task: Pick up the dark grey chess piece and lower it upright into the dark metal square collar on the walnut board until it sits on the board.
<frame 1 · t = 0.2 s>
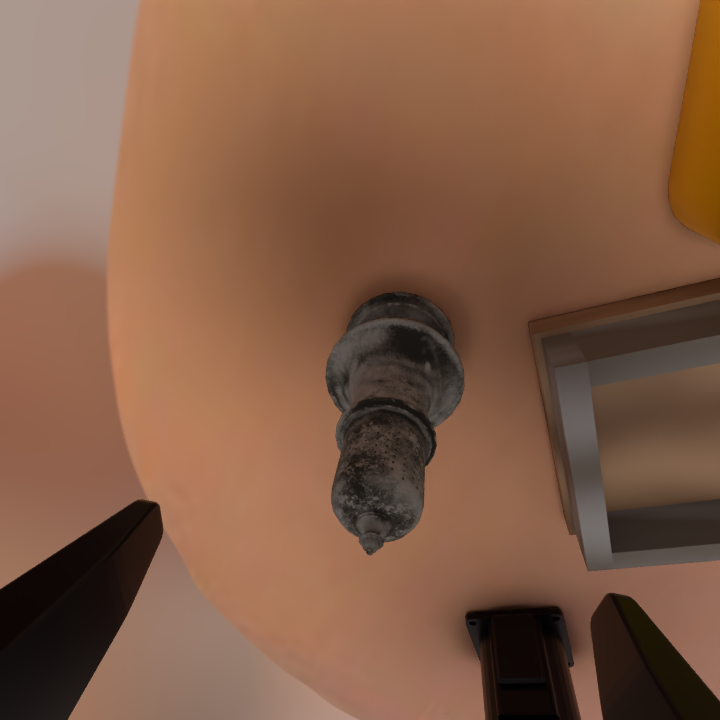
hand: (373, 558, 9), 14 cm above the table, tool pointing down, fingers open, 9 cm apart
socket: (690, 408, 22), on the table
dark grey chess piece: (399, 340, 23), on the table
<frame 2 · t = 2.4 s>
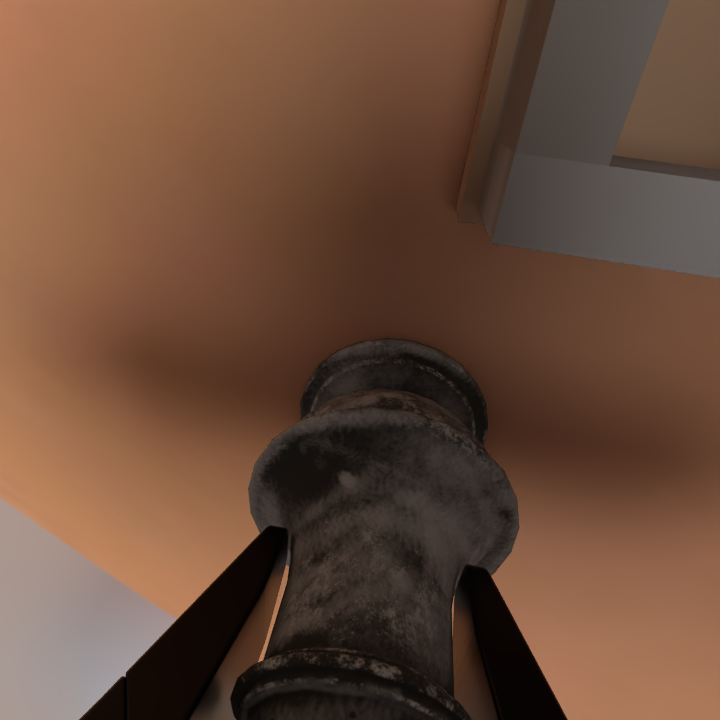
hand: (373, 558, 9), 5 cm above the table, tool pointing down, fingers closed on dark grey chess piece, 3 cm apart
dark grey chess piece: (392, 417, 13), on the table, touching gripper
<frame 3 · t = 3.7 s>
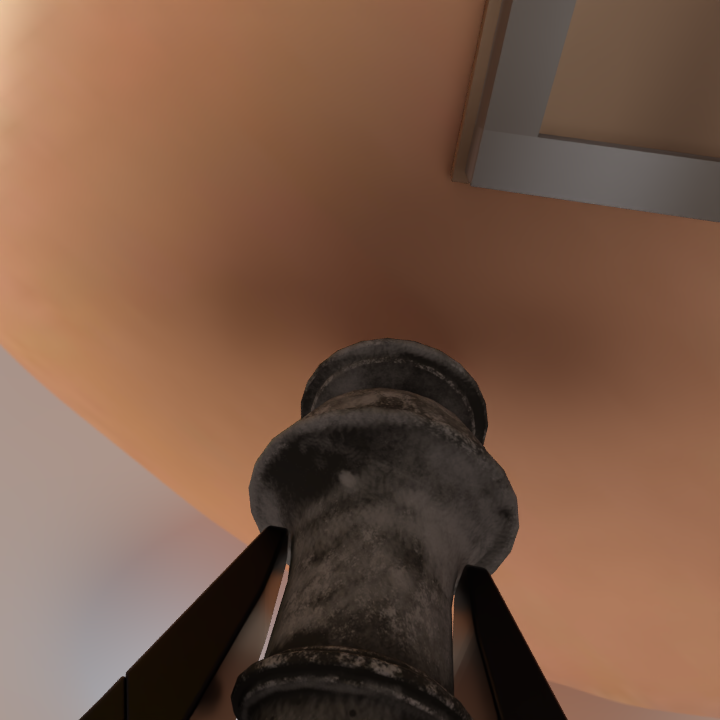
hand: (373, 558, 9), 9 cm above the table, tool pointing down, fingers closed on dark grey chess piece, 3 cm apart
dark grey chess piece: (392, 416, 13), point 5 cm above the table, touching gripper
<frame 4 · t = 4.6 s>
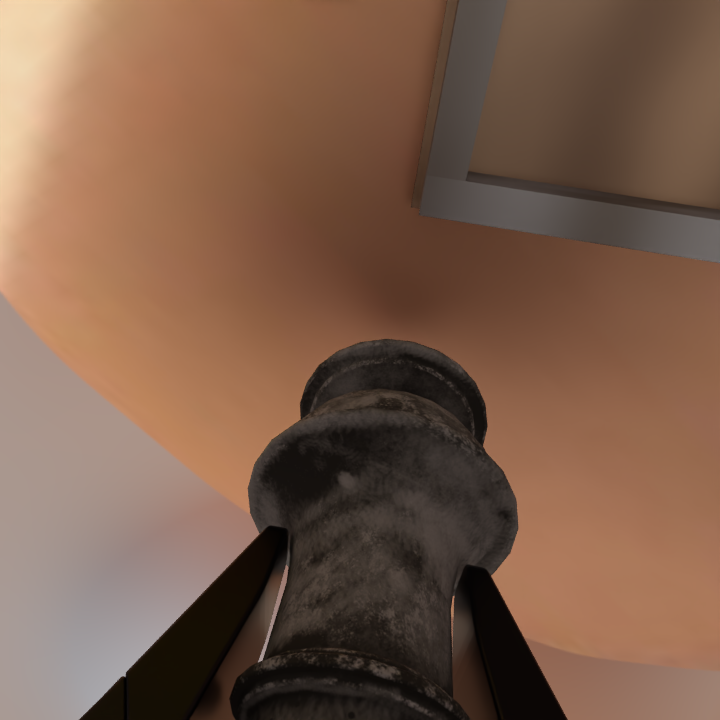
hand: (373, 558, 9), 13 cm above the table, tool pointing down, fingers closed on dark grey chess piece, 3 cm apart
socket: (656, 18, 14), on the table
dark grey chess piece: (391, 417, 13), point 8 cm above the table, touching gripper
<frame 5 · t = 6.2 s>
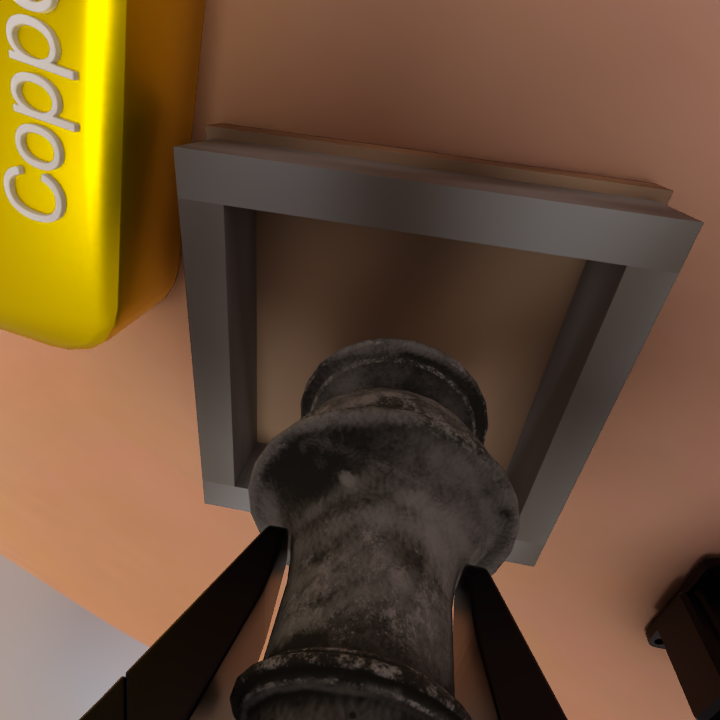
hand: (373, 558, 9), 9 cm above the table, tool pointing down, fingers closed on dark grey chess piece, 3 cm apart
socket: (398, 342, 17), on the table
dark grey chess piece: (392, 416, 13), point 4 cm above the table, touching gripper
when the fingers open (8 cm above the table, at t = 7.1 s): dark grey chess piece drops 2 cm, resting on socket.
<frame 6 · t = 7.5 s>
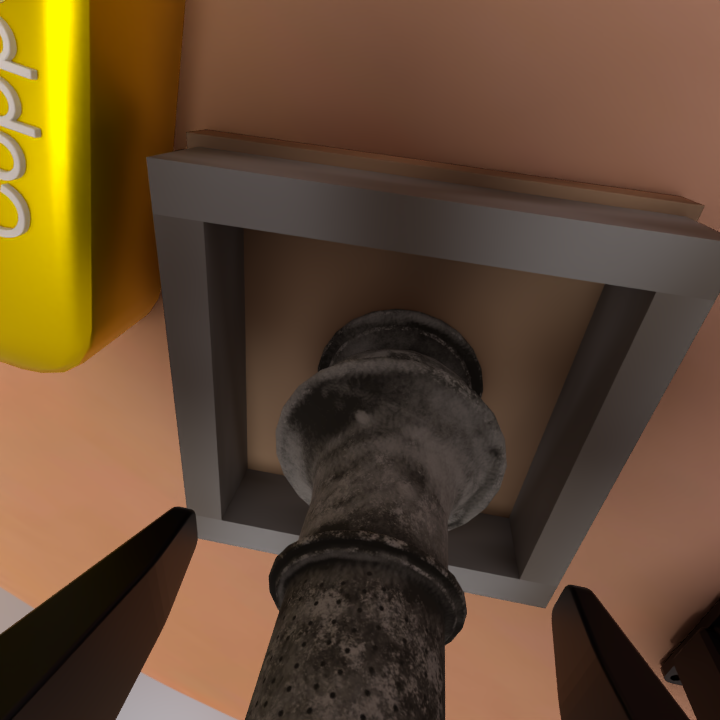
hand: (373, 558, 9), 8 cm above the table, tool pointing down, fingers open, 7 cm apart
socket: (398, 364, 16), on the table
dark grey chess piece: (398, 381, 15), point 1 cm above the table, touching socket
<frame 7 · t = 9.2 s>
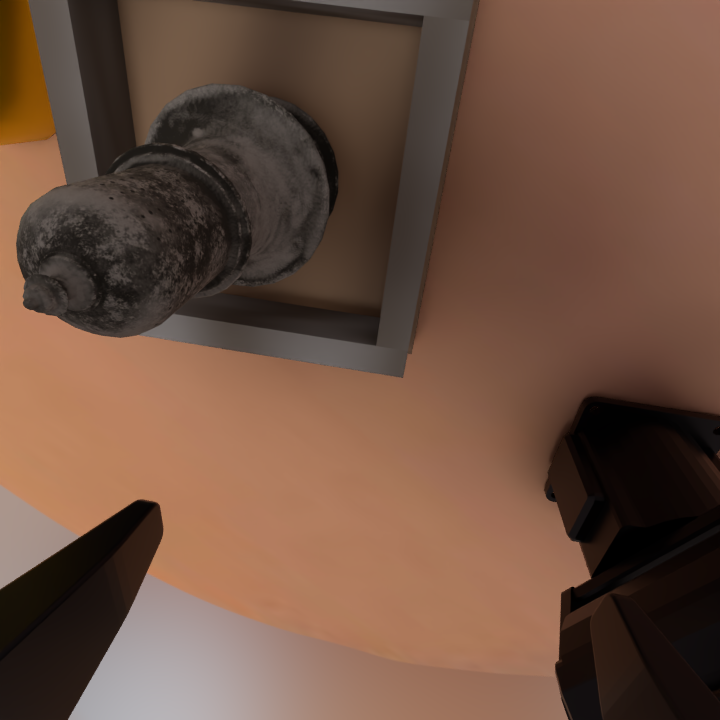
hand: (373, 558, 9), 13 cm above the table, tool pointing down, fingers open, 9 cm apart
socket: (276, 171, 18), on the table
dark grey chess piece: (270, 176, 17), point 1 cm above the table, touching socket
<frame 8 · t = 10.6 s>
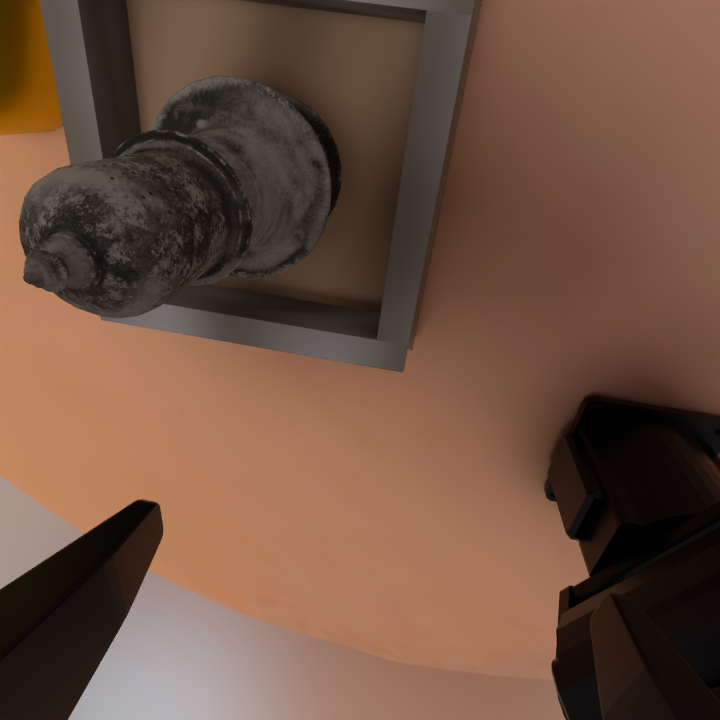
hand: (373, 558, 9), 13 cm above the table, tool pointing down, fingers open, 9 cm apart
socket: (279, 166, 18), on the table
dark grey chess piece: (273, 171, 17), point 1 cm above the table, touching socket
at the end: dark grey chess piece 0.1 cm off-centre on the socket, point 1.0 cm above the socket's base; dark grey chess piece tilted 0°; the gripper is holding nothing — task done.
